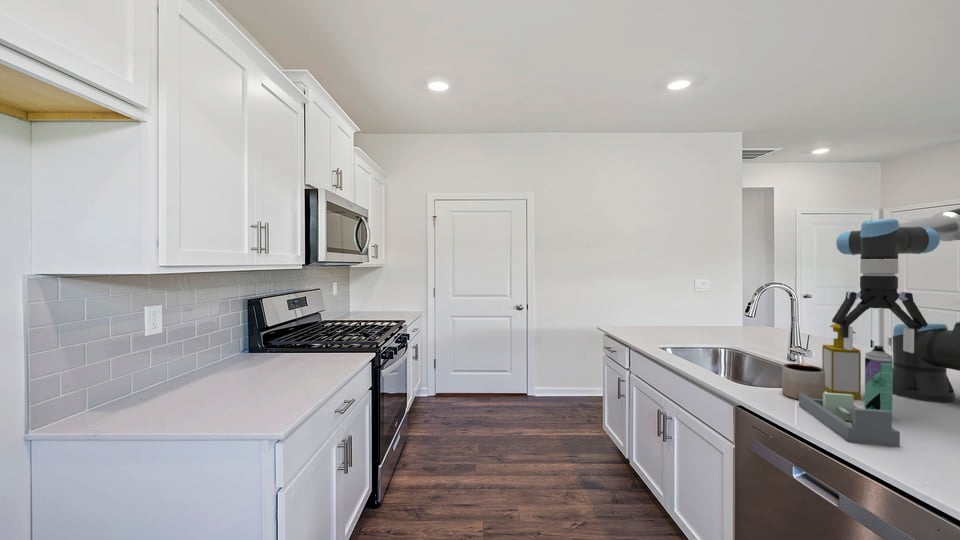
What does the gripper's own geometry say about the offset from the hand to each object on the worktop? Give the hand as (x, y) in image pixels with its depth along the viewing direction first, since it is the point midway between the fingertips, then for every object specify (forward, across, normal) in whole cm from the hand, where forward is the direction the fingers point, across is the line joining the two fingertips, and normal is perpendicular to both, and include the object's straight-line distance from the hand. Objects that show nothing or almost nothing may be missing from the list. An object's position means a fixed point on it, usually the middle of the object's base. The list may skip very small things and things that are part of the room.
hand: (877, 350), depth 111 cm
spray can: (+19, 0, 0) cm, 19 cm away
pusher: (+19, +12, +8) cm, 24 cm away
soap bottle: (+19, 0, -16) cm, 25 cm away
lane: (+19, +12, +8) cm, 24 cm away
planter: (+19, +12, -14) cm, 26 cm away
